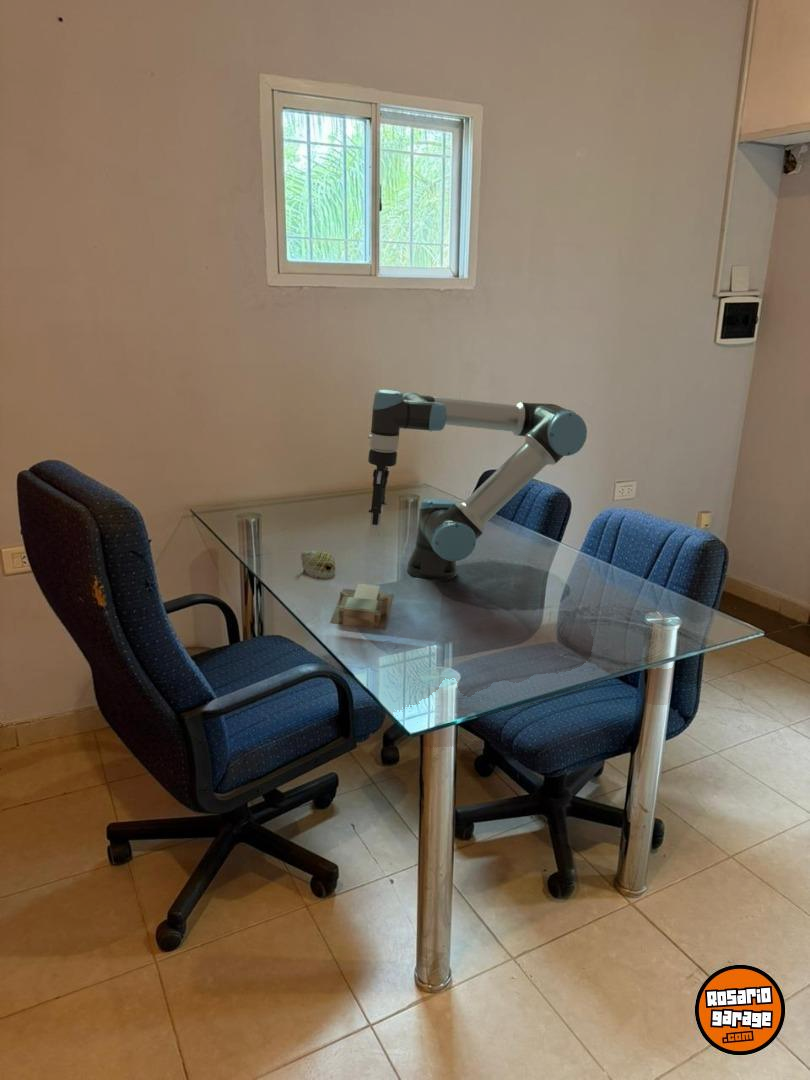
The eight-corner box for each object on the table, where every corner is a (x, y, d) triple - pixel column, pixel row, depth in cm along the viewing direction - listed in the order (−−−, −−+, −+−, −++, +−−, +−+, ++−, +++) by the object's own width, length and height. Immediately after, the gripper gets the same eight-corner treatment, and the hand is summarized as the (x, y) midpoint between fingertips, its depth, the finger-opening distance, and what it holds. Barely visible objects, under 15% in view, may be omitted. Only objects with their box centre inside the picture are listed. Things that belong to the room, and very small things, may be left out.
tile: (379, 592, 206) (379, 586, 205) (375, 608, 195) (375, 601, 195) (357, 590, 206) (358, 583, 205) (352, 605, 195) (352, 598, 195)
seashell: (335, 582, 211) (321, 550, 208) (305, 591, 214) (291, 560, 211) (344, 568, 221) (330, 538, 218) (315, 578, 223) (301, 548, 221)
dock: (393, 598, 206) (395, 580, 204) (385, 634, 184) (387, 613, 182) (342, 592, 206) (344, 573, 205) (329, 627, 185) (331, 606, 183)
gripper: (373, 441, 208) (366, 519, 216) (365, 455, 190) (357, 540, 197) (399, 444, 208) (391, 522, 215) (394, 458, 190) (385, 544, 197)
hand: (375, 531), depth 206 cm, fingers open, 7 cm apart
